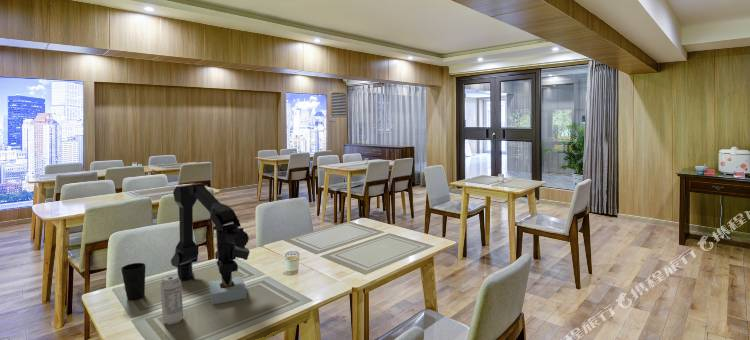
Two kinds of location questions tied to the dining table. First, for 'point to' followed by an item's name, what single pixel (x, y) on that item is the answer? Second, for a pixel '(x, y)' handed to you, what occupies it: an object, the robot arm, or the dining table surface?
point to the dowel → (227, 284)
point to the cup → (134, 280)
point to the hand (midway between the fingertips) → (227, 282)
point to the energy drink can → (171, 299)
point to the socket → (227, 291)
